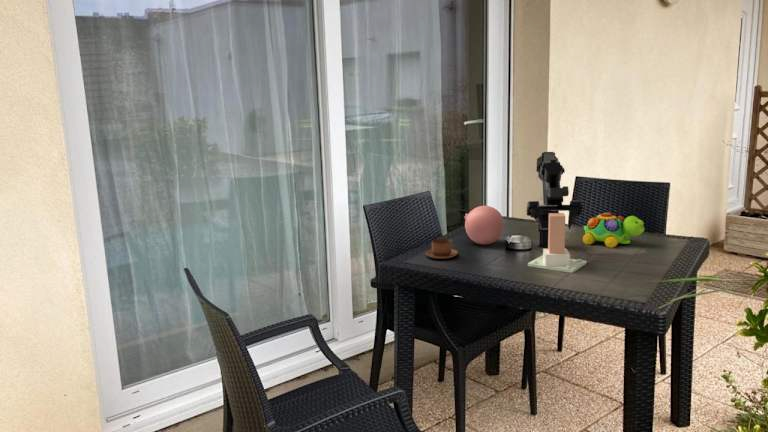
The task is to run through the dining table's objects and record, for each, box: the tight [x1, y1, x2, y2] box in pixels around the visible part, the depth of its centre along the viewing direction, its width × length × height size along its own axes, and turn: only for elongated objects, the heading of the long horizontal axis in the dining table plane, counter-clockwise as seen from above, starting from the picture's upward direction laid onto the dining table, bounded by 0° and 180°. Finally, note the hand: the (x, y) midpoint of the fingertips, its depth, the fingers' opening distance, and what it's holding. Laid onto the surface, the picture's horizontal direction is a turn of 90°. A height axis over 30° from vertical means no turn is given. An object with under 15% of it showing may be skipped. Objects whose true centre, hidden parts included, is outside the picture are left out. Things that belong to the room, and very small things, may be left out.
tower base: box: [527, 248, 588, 274], centre depth 220 cm, size 16×13×5 cm
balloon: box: [463, 205, 505, 246], centre depth 253 cm, size 15×20×15 cm
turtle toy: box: [582, 212, 645, 249], centre depth 246 cm, size 17×23×12 cm
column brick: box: [547, 212, 566, 254], centre depth 217 cm, size 5×5×13 cm
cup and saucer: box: [425, 238, 459, 260], centre depth 235 cm, size 12×12×6 cm
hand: (556, 228), depth 219 cm, fingers open, 9 cm apart
